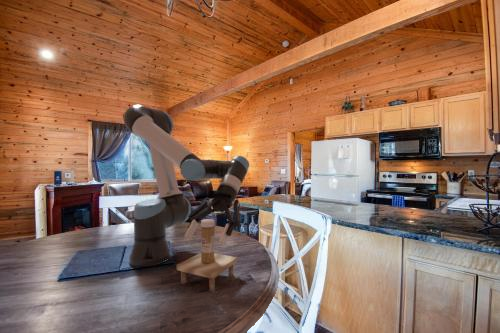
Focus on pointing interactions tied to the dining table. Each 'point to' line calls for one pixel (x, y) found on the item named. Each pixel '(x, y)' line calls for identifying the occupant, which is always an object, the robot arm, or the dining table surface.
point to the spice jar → (207, 240)
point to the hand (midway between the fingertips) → (203, 241)
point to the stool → (207, 268)
